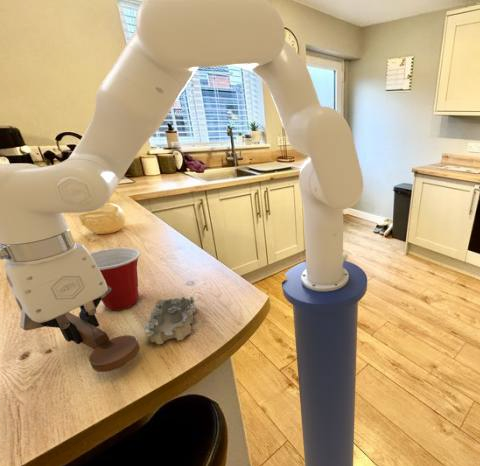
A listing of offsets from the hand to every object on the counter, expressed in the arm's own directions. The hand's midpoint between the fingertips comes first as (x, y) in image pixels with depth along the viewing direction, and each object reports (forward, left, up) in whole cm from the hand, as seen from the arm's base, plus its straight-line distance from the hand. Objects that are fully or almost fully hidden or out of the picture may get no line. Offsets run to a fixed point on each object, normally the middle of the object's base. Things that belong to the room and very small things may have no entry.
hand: (84, 335), depth 52 cm
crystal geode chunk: (-11, +9, -3) cm, 14 cm away
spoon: (0, +3, 0) cm, 3 cm away
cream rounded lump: (-33, -58, -3) cm, 67 cm away
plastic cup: (-11, -8, -3) cm, 14 cm away
